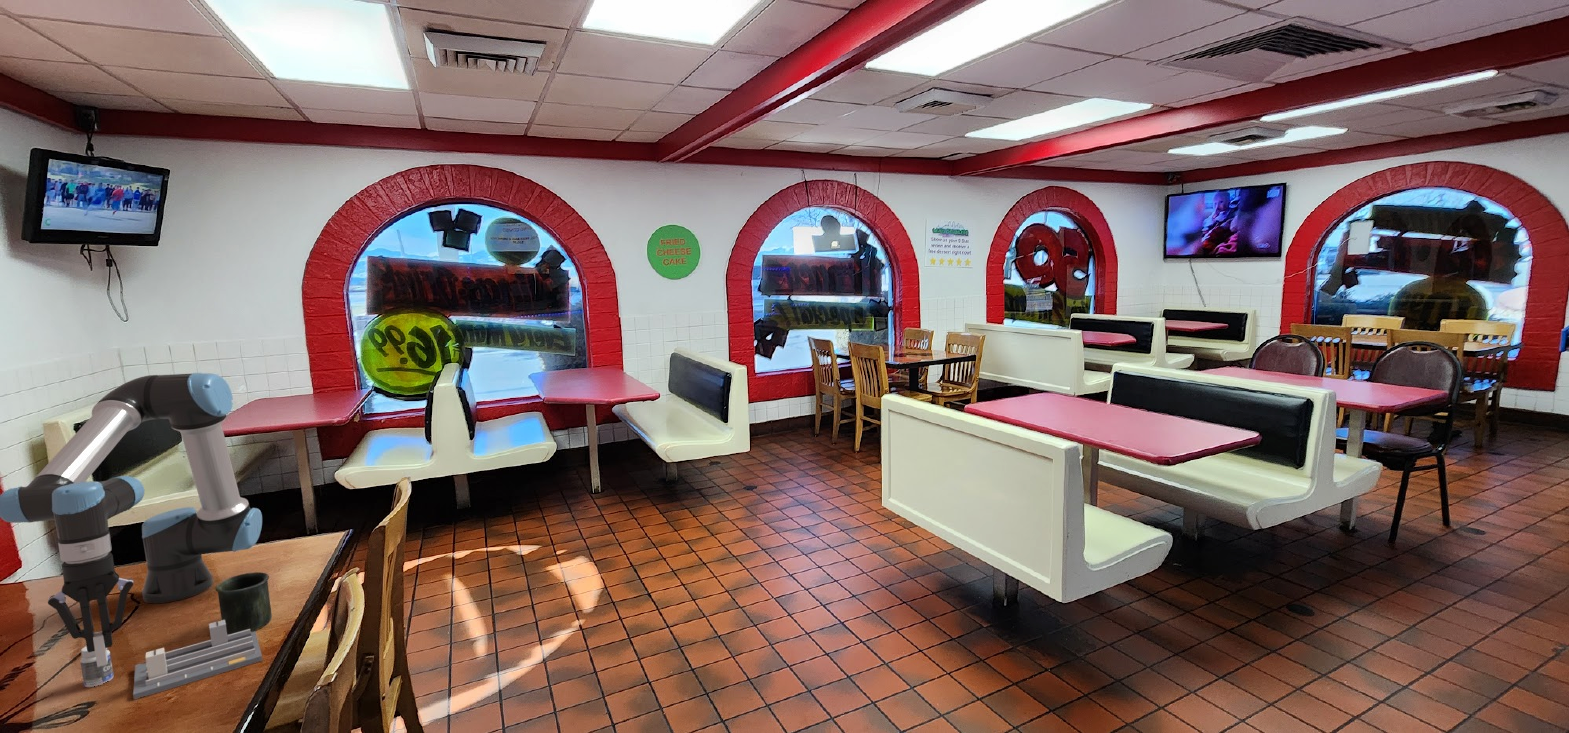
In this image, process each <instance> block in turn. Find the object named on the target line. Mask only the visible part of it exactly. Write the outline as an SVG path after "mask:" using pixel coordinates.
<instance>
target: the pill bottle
mask: <svg viewBox="0 0 1569 733" xmlns="http://www.w3.org/2000/svg"><path fill="white" fill-rule="evenodd" d="M106 649H107V656H108V662H107V665H103V666H99V667H97V661H96V655H95V651H93V652H88V651H87V646H86V645H85V646H84V647H83V648H81V650H80V653H81V658H80V661H79V662H80V667H81V674H82V680H83V685H84V687H86V688H94V686H95V687H98V685H99V686H101V685H104V684H103V683H105V682H107V681H109V682H110V681H111V680H112V679H113V678H114V669H113V664H112V663H113V662H112V657H111V651H110V650H109V649H108V648H106ZM107 683H108V682H107ZM105 684H106V683H105Z"/></svg>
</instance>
